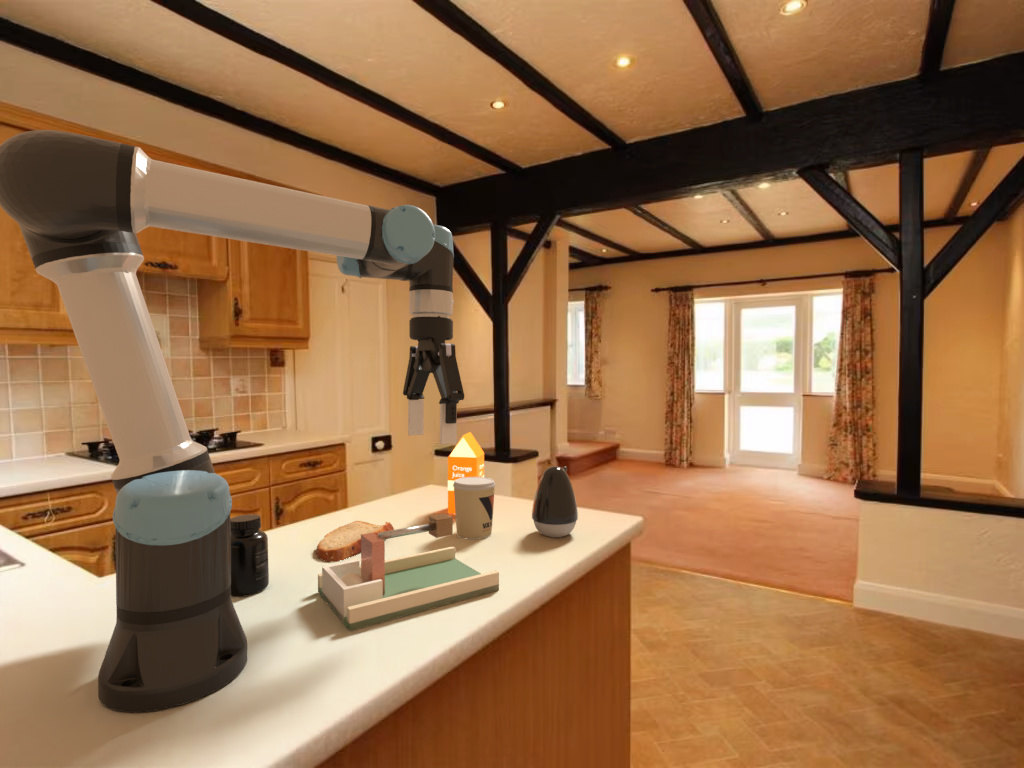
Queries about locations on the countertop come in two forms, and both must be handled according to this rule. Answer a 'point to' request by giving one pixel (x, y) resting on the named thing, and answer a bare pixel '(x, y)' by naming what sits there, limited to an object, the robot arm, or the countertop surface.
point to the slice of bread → (347, 540)
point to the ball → (352, 579)
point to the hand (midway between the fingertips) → (431, 439)
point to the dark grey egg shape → (554, 503)
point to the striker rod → (376, 545)
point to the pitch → (402, 587)
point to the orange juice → (464, 464)
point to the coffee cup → (474, 506)
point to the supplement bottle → (248, 556)
